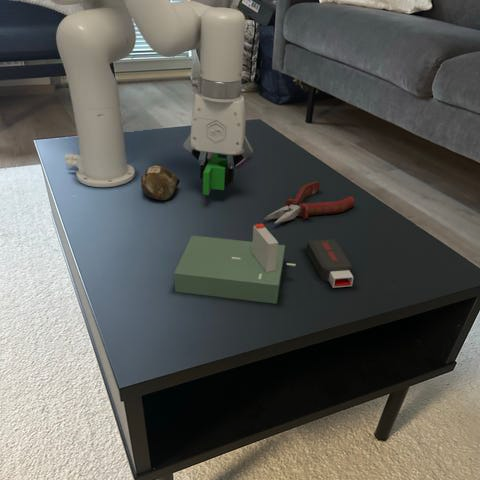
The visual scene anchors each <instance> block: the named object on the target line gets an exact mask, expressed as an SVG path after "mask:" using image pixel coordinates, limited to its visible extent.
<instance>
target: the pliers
mask: <svg viewBox="0 0 480 480" xmlns="http://www.w3.org/2000/svg"><path fill="white" fill-rule="evenodd" d="M319 190H320V182H319V181H312V182H310V183H307V184H305V185H302V186H301V187H300V188H299V190H298V192H297V193H296V195H295V197H294V199H293V198H288V199H287V200H286V201H285V204H284V206H283V207H280V208H278V209H277V210H275V211H274V212H272V213H270V214H268V215H266V216H265V217H263V220H264V221H265V220H273V219H277V220H276V221H274V223H273V225H278V224H280V223H285V222H288V221H292V220H294V219H295V218H296V217H298V218H302V219H303V220H308V219H309V216H323V215H334V214H335V215H336V214H340V213H344V212H346V211H348V210H350V209H352V208H353V207H354V206H355V202H356V200H355V198H354V196H351V195H349V196H347V197H345V198H343V199H341V200H340V199H339V200H335V201H324V202H323V201H322V202H308V203H307V202H303V201H304V200H305V199H306V198H307V197H309V196H312V195H315V194H316V193H318V192H319Z"/></svg>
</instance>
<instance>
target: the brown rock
mask: <svg viewBox="0 0 480 480" xmlns="http://www.w3.org/2000/svg"><path fill="white" fill-rule="evenodd" d="M180 181H181V180H180V178H179V177H178V176H177V175H176V174H175V173H174V172H173V171H171V170H170V169H169V168H166V167H164V166H161V165H153V166H150V167H148V168H147V169H146V170H145V172H144V174H142V176H141V177H140V186H141V189H142V192H144V194H145V195H146V196H148V197H149V198H151V199H153V200H158V201H166V200H169V199H170V198H171V197H172V196H173V195H174V193H175V191H176V189H177V187H178V186H179V184H180Z"/></svg>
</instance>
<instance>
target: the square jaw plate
mask: <svg viewBox="0 0 480 480" xmlns="http://www.w3.org/2000/svg"><path fill="white" fill-rule="evenodd" d="M252 242H253V243H252V254H253V255H254V256H255V258H256V259H257V260H258V262H259V263H260V264H261V266H262V267H263V268H264V270H265V271H266V272H270V271H275V270H276V261H277V250H278V245H279V241H278V240H277V239H276V238H275V237H274V236H273V234H272V233H271V232H270V231H269V230H268V229H267V227H266V226H265V225H264V223H256V224H254V225H253V228H252Z"/></svg>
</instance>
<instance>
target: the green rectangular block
mask: <svg viewBox="0 0 480 480" xmlns="http://www.w3.org/2000/svg"><path fill="white" fill-rule="evenodd" d="M188 240H189V241H188V243H187V245H186V247H185V249H184V251H183V253H182V255H181V258H180V260H179V262H178V263H177V266H176V268H175V270H174V273H173V278H174V292H175V293H181V294H189V295H199V296H207V297H217V298H224V299H233V300H241V301H248V302H249V301H250V302H258V303H266V304H275V305H277V304H278V299H279V294H280V286H281V282H282V281H281V280H282V275H283V268H284V260H285V251H286V245H285V244H278V250H277V261H276V270H275V271H270V272H266V271H265V270H264V268H263V267H262V266H261V264H260V263H259V262H258V260H257V259H256V258H255V256H254V255H253V254H252V243H253V241H249V240H239V239H229V238H221V237H213V236H211V237H210V236H201V235H193V234H192V235H191V237H190V238H189V239H188ZM296 265H297V264H296V263H288V262H287V263H286V266H291V267H296Z"/></svg>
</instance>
